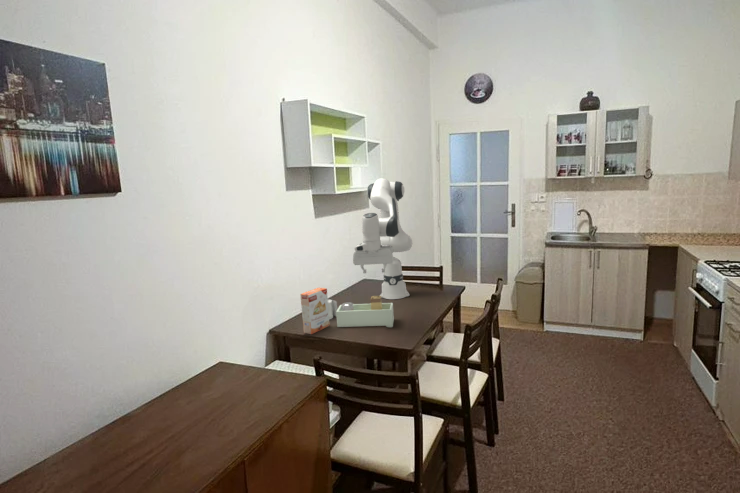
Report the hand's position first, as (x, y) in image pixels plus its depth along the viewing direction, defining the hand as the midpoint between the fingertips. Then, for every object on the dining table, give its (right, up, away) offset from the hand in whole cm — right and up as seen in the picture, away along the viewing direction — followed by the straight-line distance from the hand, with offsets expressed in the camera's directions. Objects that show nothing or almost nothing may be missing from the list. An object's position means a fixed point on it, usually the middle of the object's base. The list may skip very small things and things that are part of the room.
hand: (374, 272), depth 223 cm
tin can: (-13, -26, +6) cm, 30 cm away
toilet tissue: (-27, -27, +18) cm, 42 cm away
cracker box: (-29, -30, 0) cm, 41 cm away
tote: (-4, -27, +5) cm, 27 cm away
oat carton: (+2, -25, +4) cm, 26 cm away
